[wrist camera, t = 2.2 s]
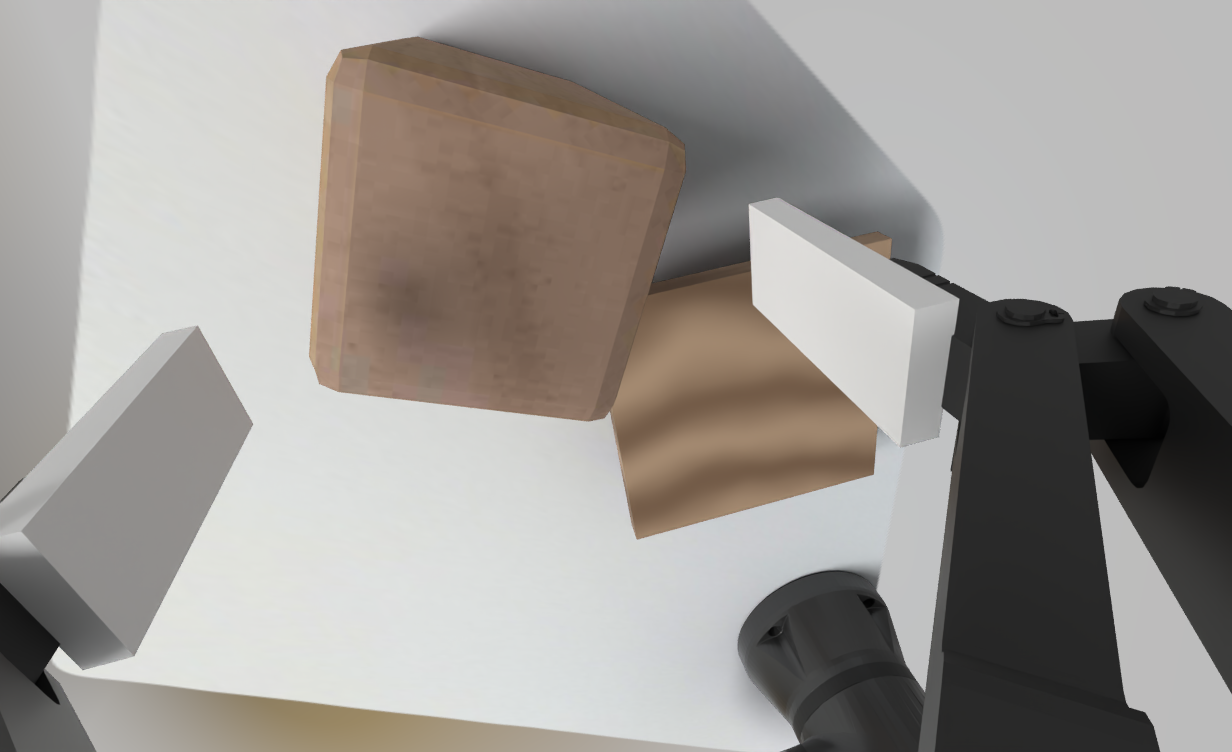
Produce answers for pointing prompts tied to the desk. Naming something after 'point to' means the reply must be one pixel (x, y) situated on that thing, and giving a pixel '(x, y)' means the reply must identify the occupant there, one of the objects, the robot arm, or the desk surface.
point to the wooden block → (483, 232)
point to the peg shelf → (728, 407)
